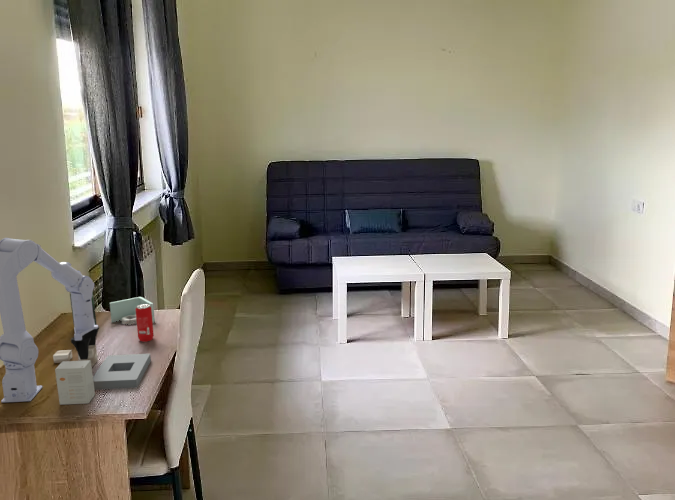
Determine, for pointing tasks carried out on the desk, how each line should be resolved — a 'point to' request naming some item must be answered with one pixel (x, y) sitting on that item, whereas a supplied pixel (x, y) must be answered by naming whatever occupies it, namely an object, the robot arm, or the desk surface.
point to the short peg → (62, 356)
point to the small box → (75, 382)
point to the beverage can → (144, 322)
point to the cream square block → (91, 355)
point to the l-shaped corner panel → (128, 310)
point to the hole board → (121, 371)
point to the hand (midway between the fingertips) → (87, 354)
